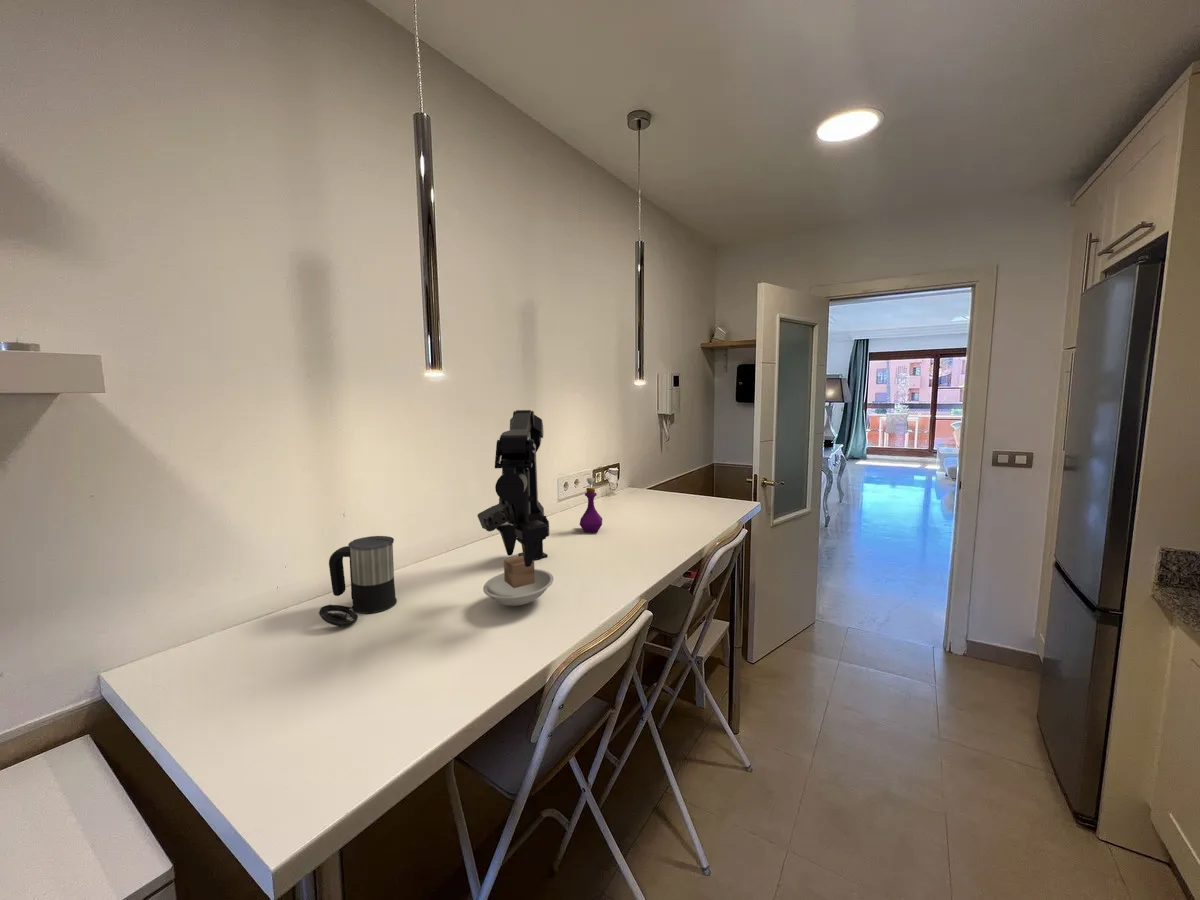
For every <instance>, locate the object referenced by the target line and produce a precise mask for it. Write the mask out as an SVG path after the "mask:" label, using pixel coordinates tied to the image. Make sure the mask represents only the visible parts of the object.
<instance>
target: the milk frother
mask: <svg viewBox="0 0 1200 900" xmlns="http://www.w3.org/2000/svg"><path fill="white" fill-rule="evenodd" d="M394 541H395V538H394V537H391V536H387V535H373V536H366V537H364V536H363V537H359V538H356V539H353V540H352V541H350V542H349V543H348V544H347V546H345V545H344V546H342V547H340V548H338V549H336V550H335V551H334V552H332V554H331V555H330V557H329V559H328V567H329V575H330V582H331V583H330V584H331V589H332V594H333V595H334V596H335V597H339V596H341V595H343V594H344V593H345V592H346V590H347V589H346V588H347V587H346V578H345V571H344V559H343V558H349V573H350V576H349V577H350V593H351V600H352V601H351V602H352V605H351V606H346V605H340V604H327V605H324V606H322V607H320V609H319V611H318V615H319V617H320V618H321V619H322V620H323V621H324V622H326V623H327V624H330V625H332V626H336V627H339V628H342V627H348V626H352V625H354V624H355V623H356V622H357V621H358V619H359V615H358V614H376V613H379V612H384V611H387V610H389V609H391V608H393V607H394V606H395V605H396V604H397V601H398V600H397V598H396V587H395V570H394V569H395V566H394V564H395V563H394V549H393V547H394V546H393V545H394ZM348 615H349V616H350V617H349V616H348Z"/></svg>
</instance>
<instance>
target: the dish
mask: <svg viewBox="0 0 1200 900" xmlns="http://www.w3.org/2000/svg"><path fill="white" fill-rule="evenodd" d="M534 573H535V583H533V584H529V585H525V586H521V587H517V588H513V587H512V586H510V585H509V584H508V583H506V582H505V579H504V572H502V573H500V574H498V575H495V576H493V577H492V578H489V580H487V581H486V582H485V583H484V585H483V589H482V590H483V593H484V594H485V595H486V596H488V597H490V598H491V599H492V600H493V601H495V602H497V603H499V604H502V605H504V606H509V607H512V606H513V607H516V606H523V605H526V604H530V603H532V602H533V601H535V600H537V599H539V598H540V597H541V596H542V595H543V594H544V593H545V592H546V591H547V589H548V588H550V586H552V584H553V582H554V576H553V574H552V573H551V572H549V571H546V570H543V569H539V568H538V569H537V568H534Z"/></svg>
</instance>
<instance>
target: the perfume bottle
mask: <svg viewBox="0 0 1200 900" xmlns="http://www.w3.org/2000/svg"><path fill="white" fill-rule="evenodd" d="M595 480H596V478H594V477H587V478H586V482H587V483H588V484H589V487H586V489H585V491H586V492H585V493H584V496H585V497H586V498H587V508H586V510H585V511H584V513H583V514H582V516H581V517H580V520H579V526H580V528H581V529H582V531H583V532H584V533H586V532H591V533H598V532H599V530H600V529H601V527H602V526H603V517H602V516H601V515H600V513H599V512H598V511H597V509H596V508H595V507H596V506H595V502H594V501H595V497H596V496H597V495H598V493H597V492H596V489H595V488H593V487H592V485H593V484H594V483H595V482H594V481H595Z"/></svg>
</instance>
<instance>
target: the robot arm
mask: <svg viewBox="0 0 1200 900" xmlns="http://www.w3.org/2000/svg"><path fill="white" fill-rule="evenodd" d="M543 423H544V422H543V419H542V418H540V417H538V416H537V415H536V414H535V411H534V410H531V409H521V410H520V409H516V410H514V411H513V413H512V417H511V418H510V419H509V430H507V431H503V432H502V433H501V434H500V436H499V439H497V440H496V444H495V446H496V447H495V448H496V449H495V459H494V460H495V461H494V469H501V475H500V476H499V477H498V479H497V480H496V482H495V485H494V487H495V489H494V490H495V493H496V495H497V496H498V497H499V498H498V503H497V504H495V505H492V506H490V507H489V508H487V509H484V510H483V511H481V512H479V513H478V514H477V518H478V521H479V522H480V525H481V528H482V529H484V530H485V531H487V532H493V531H494V530H496V531H498V532H499V533H500V535H501V540H502V542H503V545H504V549H505V551H506V555H507V556H513V553H514V550H515V546H516V542H518V543H519V544H521V550H522V552H519V553H517V555H518V557H519V556H523V557H524V563H525V566H526V567H529V566H531V564H532V562H533V561H534V560H538V559H542V558H543V559H544V558H547V557H548V556H549V555H548V554H547V553H546V552H544V542H543V541H544V540H546V539H547V537H549V536H550V521H549V519H548V518H547V515H545V509H544V507H543V504H541V502H540V501H539V495H538V494H539V491H538V471H537V470H538V469H537V467H538V465H537V452H538V450H539V449H540V447H541V443H542V439H544V424H543Z"/></svg>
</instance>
